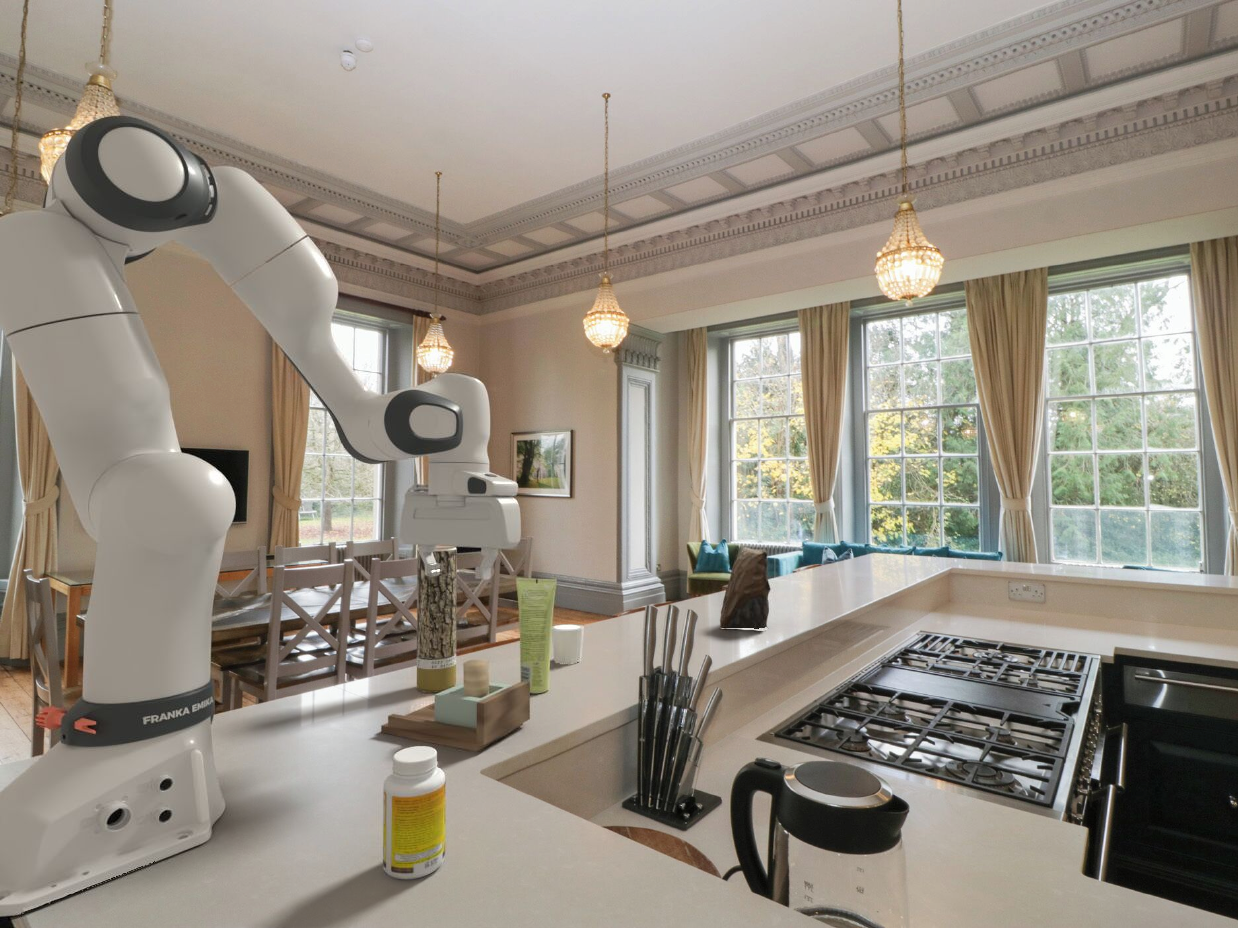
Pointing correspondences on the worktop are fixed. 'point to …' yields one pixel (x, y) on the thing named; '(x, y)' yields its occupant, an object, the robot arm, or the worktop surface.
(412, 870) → the supplement bottle
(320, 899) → the worktop surface
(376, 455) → the robot arm
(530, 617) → the tube
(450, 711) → the socket block
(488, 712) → the wooden tray
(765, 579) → the brown rock
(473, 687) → the dowel
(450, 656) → the paper tube
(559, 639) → the white short cylinder
